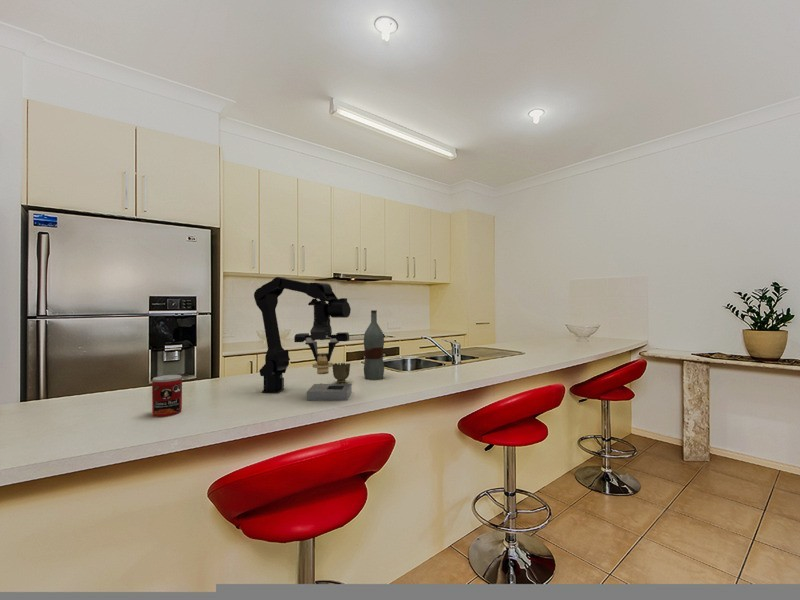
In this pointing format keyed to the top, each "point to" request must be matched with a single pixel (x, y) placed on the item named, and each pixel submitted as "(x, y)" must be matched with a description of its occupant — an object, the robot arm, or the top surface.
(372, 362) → the bottle
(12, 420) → the top surface
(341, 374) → the cup
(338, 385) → the block
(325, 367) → the brass bushing
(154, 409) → the canned food
